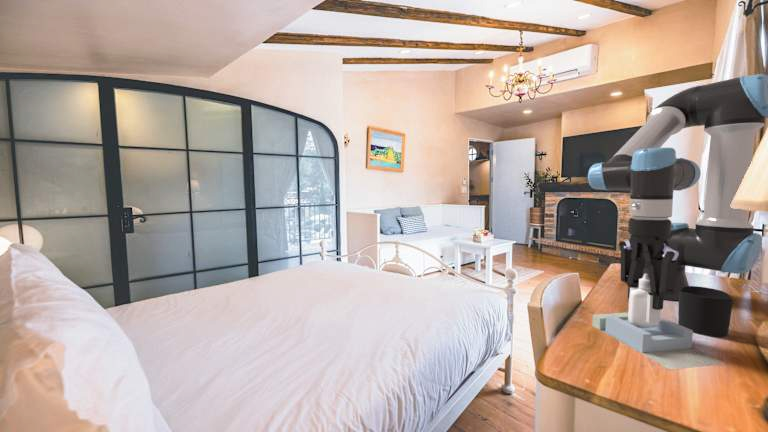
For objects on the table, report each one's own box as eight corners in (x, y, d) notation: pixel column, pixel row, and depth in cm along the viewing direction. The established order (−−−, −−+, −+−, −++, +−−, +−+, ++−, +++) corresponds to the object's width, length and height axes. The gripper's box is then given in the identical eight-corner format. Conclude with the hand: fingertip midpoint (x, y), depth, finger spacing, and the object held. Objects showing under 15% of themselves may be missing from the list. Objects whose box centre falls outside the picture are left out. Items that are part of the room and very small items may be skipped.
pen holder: (741, 338, 77) (744, 297, 76) (708, 342, 75) (711, 300, 74) (696, 322, 86) (699, 284, 85) (666, 325, 84) (668, 287, 83)
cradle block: (649, 328, 81) (650, 312, 81) (691, 348, 71) (692, 330, 71) (605, 331, 80) (606, 315, 79) (642, 352, 70) (643, 334, 70)
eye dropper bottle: (658, 331, 73) (661, 278, 72) (627, 324, 76) (629, 274, 75) (659, 324, 76) (662, 274, 75) (629, 318, 80) (631, 270, 79)
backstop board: (638, 324, 85) (638, 311, 85) (727, 366, 65) (728, 350, 65) (592, 328, 83) (592, 314, 83) (669, 372, 64) (670, 355, 63)
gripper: (604, 214, 82) (600, 305, 84) (671, 222, 65) (664, 335, 67) (632, 214, 83) (627, 303, 85) (704, 221, 66) (696, 332, 68)
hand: (643, 317), depth 76 cm, fingers closed on eye dropper bottle, 4 cm apart
